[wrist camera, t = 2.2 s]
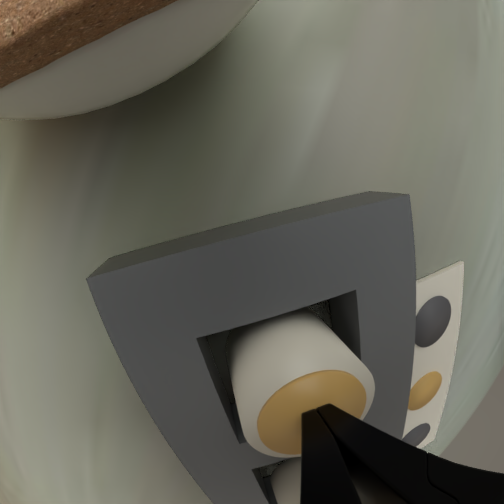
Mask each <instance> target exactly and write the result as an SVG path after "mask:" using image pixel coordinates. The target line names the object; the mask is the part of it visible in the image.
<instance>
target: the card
mask: <svg viewBox="0 0 504 504" xmlns="http://www.w3.org/2000/svg"><path fill="white" fill-rule="evenodd" d="M463 276H464V262H462V261H458V262H456V263H454V264H452V265H450V266H448V267H446V268H443V269H441V270H439V271H437V272H435V273H432V274H430V275H428V276H426V277H423V278H421V279H419V280H416V330H415V347H414V360H413V371H412V380H411V389H410V396H409V403H408V410H407V416H406V422H405V427H404V432H403V437H402V441H404V442H406V443H409V444H411V445H413V446H415V447H417V448H420V449H421V448H422V447H424V446H425V445H427V444H428V443H430V442H432V441H433V440H434V439H435V436H436V433H437V430H438V427H439V423H440V420H441V416H442V413H443V409H444V405H445V402H446V398H447V394H448V389H449V385H450V380H451V376H452V371H453V366H454V360H455V354H456V348H457V342H458V335H459V327H460V318H461V308H462V295H463Z"/></svg>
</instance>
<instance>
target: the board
mask: <svg viewBox="0 0 504 504" xmlns="http://www.w3.org/2000/svg"><path fill="white" fill-rule="evenodd" d="M86 280H87V283H88V285H89V288H90V291H91V294H92V296H93V299H94V301H95V304H96V306H97V309H98V311H99V314H100V316H101V319H102V321H103V323H104V326H105V328H106V330H107V333H108V335H109V337H110V339H111V342H112V344H113V346H114V348H115V350H116V352H117V354H118V356H119V358H120V361H121V363H122V365H123V367H124V369H125V370H126V372H127V374H128V376H129V378H130V380H131V382H132V384H133V386H134V388H135V389H136V391H137V393H138V395H139V397H140V398H141V400H142V402H143V404H144V405H145V407H146V409H147V411H148V412H149V414H150V416H151V417H152V419H153V420H154V422H155V424H156V425H157V427H158V429H159V430H160V432H161V433H162V435H163V436H164V438H165V439H166V441H167V442H168V444H169V445H170V447H171V448H172V450H173V451H174V453H175V454H176V456H177V457H178V458H179V460H180V461H181V463H182V464H183V465H184V467H185V468H186V469H187V471H188V472H189V474H190V475H191V476H192V477H193V479H194V480H195V481H196V483H197V484H198V485H199V487H200V488H201V489H202V490H203V492H204V493H205V494H206V495H207V496H208V498H209V499H210V500H211V501H212V502H213V504H278V503H277V500H276V497H275V494H274V491H273V488H272V485H271V482H270V477H271V476H270V477H266V478H262V476H261V474H260V472H259V469H258V468H259V467H262V466H266V465H270V464H273V463H277V462H280V461H283V460H287V459H290V458H281V457H273V456H269V455H266V454H263V453H261V452H259V451H257V450H256V449H254V448H253V447H252V446H251V445H250V444H249V443H248V442H247V440H246V439H245V437H244V434H243V431H242V426H241V422H240V418H239V414H238V409H237V405H236V403H232V404H231V403H230V401H229V398H228V396H227V393H226V390H225V388H224V385H223V383H222V380H221V377H220V375H219V372H218V369H217V367H216V364H215V361H214V358H213V355H212V353H211V350H210V347H209V344H208V341H207V338H206V336H207V335H210V334H214V333H218V332H222V331H225V330H229V329H233V328H236V327H240V326H243V325H247V324H250V323H254V322H257V321H261V320H264V319H268V318H271V317H274V316H277V315H281V314H284V313H287V312H290V311H294V310H297V309H300V308H303V307H306V306H309V305H312V304H315V303H318V302H321V301H324V300H327V299H329V305H330V312H331V320H332V328H333V332H334V333H335V334H336V335H337V336H338V337H339V338H340V339H341V341H342V342H343V343H344V344H345V345H346V346H347V347H348V348H349V349H350V350H351V351H352V352H353V353H354V354H355V355H356V356H357V357H358V359H359V360H360V361H361V362H362V363H363V364H364V365H365V366H366V367H367V368H368V369H369V371H370V372H371V374H372V376H373V379H374V383H375V393H374V398H373V402H372V404H371V407H370V409H369V411H368V413H367V414H366V416H365V417H364V419H363V420H362V421H364V422H366V423H368V424H370V425H372V426H374V427H376V428H378V429H380V430H382V431H384V432H386V433H388V434H390V435H392V436H394V437H396V438H398V439H400V440H402V437H403V432H404V427H405V422H406V416H407V410H408V403H409V396H410V389H411V380H412V371H413V360H414V347H415V330H416V264H415V246H414V232H413V221H412V212H411V203H410V195H409V194H400V193H387V192H372V191H369V192H364V193H360V194H355V195H351V196H346V197H342V198H337V199H333V200H328V201H324V202H320V203H316V204H311V205H307V206H303V207H299V208H294V209H290V210H286V211H282V212H278V213H274V214H270V215H266V216H262V217H258V218H254V219H250V220H246V221H242V222H238V223H234V224H230V225H226V226H223V227H219V228H215V229H211V230H207V231H204V232H200V233H196V234H193V235H189V236H185V237H181V238H178V239H174V240H171V241H167V242H163V243H160V244H156V245H153V246H149V247H146V248H142V249H139V250H135V251H132V252H128V253H125V254H121V255H118V256H115V257H111V258H109V259H108V260H107V261H106V262H104V263H103V264H102V265H101V266H100V267H99V268H98V269H96V270H95V271H94V272H93V273H92V274H91V275H90V276H89V277H87V278H86ZM292 458H293V457H292Z"/></svg>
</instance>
